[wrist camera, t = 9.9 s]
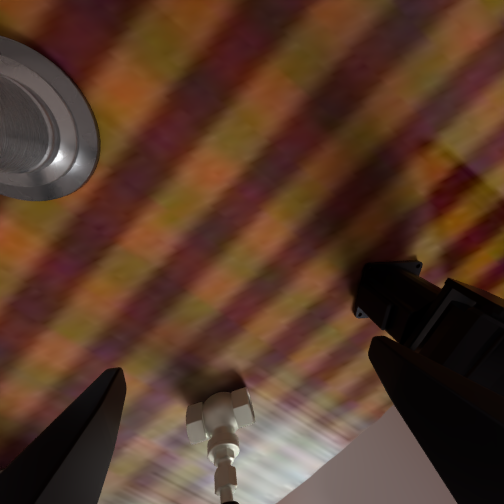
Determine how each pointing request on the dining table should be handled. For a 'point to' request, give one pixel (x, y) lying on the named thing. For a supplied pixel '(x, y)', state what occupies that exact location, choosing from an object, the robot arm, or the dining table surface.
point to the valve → (221, 434)
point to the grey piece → (25, 129)
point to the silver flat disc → (69, 122)
